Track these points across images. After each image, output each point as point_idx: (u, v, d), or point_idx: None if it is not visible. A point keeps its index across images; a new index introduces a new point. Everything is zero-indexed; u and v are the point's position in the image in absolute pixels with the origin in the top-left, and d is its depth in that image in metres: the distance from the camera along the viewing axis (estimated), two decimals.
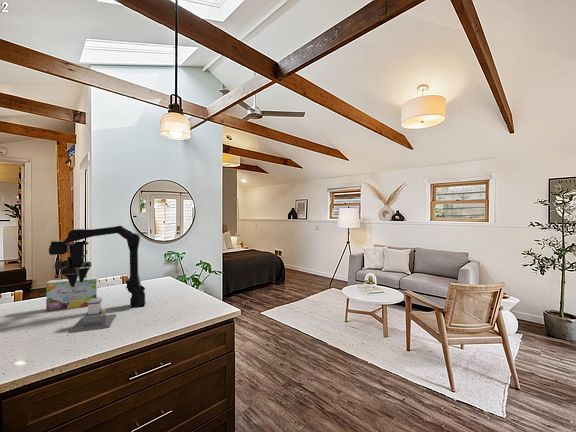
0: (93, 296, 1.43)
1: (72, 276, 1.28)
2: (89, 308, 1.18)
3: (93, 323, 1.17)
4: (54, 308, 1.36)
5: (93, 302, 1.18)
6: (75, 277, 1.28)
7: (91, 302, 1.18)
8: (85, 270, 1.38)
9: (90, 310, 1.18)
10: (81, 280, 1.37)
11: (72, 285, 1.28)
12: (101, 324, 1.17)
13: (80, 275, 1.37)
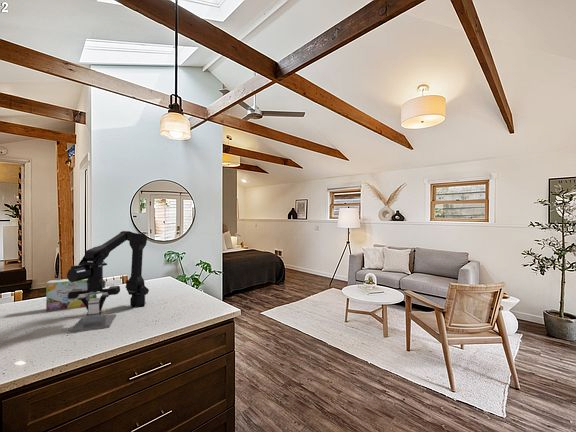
0: (93, 296, 1.43)
1: None
2: (89, 308, 1.18)
3: (93, 323, 1.17)
4: (54, 308, 1.36)
5: (93, 302, 1.18)
6: None
7: (91, 302, 1.18)
8: None
9: (90, 310, 1.18)
10: (100, 308, 1.21)
11: None
12: (101, 324, 1.17)
13: None
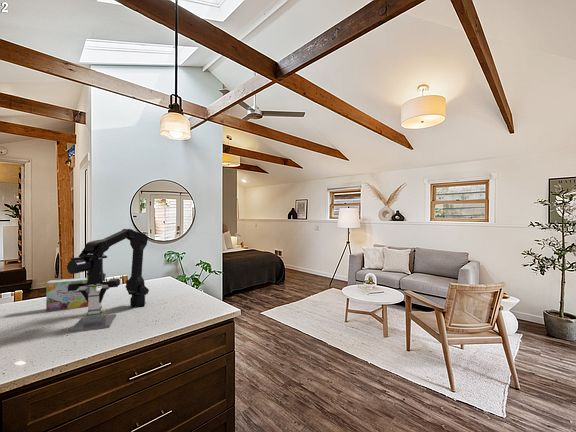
0: None
1: None
2: (89, 300, 1.18)
3: (93, 323, 1.17)
4: (54, 308, 1.36)
5: (93, 294, 1.18)
6: None
7: (91, 294, 1.18)
8: None
9: (90, 303, 1.18)
10: (100, 300, 1.21)
11: None
12: (101, 324, 1.17)
13: None
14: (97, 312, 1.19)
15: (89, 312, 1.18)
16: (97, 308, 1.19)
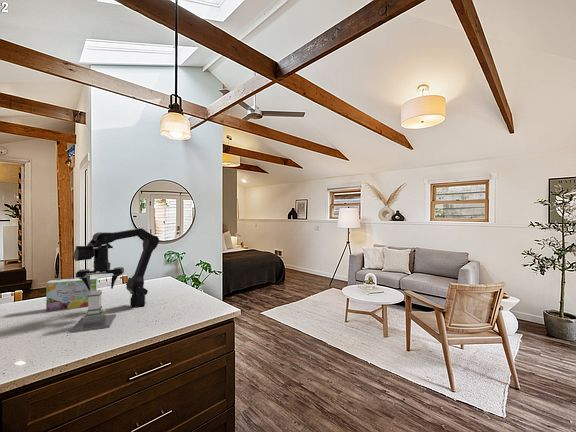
0: None
1: None
2: (89, 300, 1.18)
3: (93, 323, 1.17)
4: (54, 308, 1.36)
5: (93, 294, 1.18)
6: None
7: (91, 294, 1.18)
8: (112, 277, 1.29)
9: (90, 302, 1.18)
10: (111, 286, 1.31)
11: None
12: (101, 324, 1.17)
13: None
14: (97, 312, 1.19)
15: (89, 311, 1.18)
16: (97, 308, 1.19)
